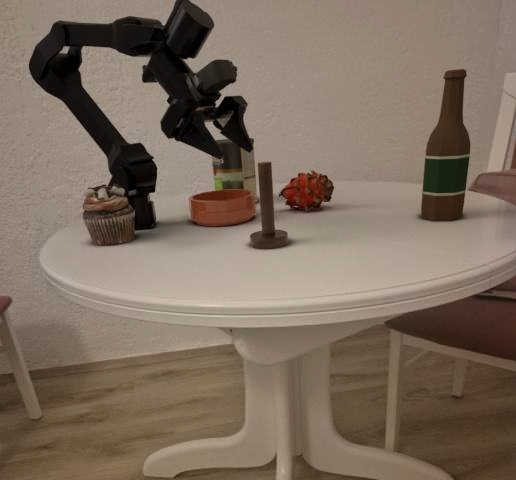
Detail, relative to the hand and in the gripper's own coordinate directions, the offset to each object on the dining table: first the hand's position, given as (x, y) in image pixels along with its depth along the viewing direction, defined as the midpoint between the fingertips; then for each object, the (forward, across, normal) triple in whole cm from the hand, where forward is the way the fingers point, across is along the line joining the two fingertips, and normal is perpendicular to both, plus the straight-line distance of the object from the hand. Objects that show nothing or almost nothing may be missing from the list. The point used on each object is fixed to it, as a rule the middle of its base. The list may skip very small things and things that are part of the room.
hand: (237, 153), depth 82 cm
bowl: (+3, +10, +18) cm, 21 cm away
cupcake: (-5, -10, +27) cm, 29 cm away
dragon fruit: (+12, +23, +8) cm, 27 cm away
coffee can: (-2, +27, +24) cm, 36 cm away
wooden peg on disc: (+15, -4, +4) cm, 16 cm away
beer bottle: (+31, +22, -13) cm, 40 cm away
